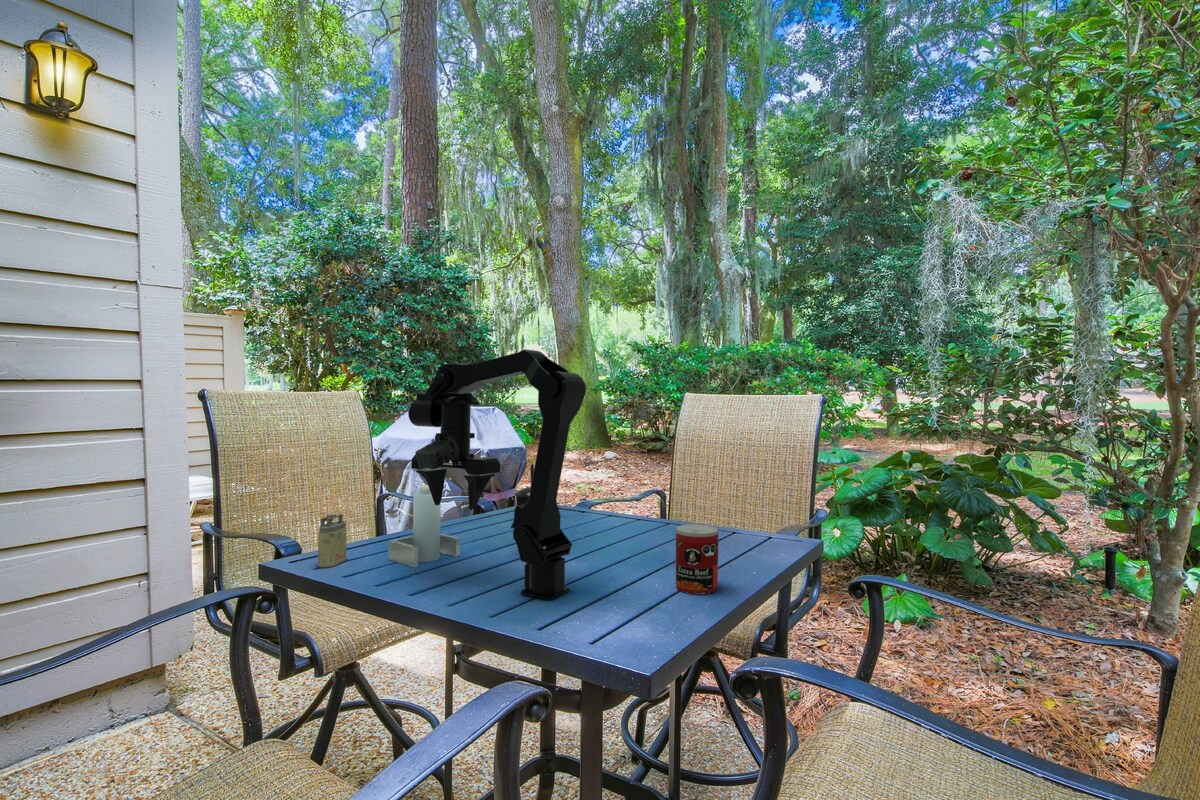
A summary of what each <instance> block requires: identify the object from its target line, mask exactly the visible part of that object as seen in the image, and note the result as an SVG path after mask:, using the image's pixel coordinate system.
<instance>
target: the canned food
mask: <svg viewBox="0 0 1200 800" xmlns="http://www.w3.org/2000/svg"><path fill="white" fill-rule="evenodd" d="M718 571H719V529H718V528H717V527H715V526H713V525H707V524H696V523H695V524H693V523H691V524H682V525H679V526H677V527H676V530H675V586H676V589H677V588H678V589H677V590H678V591H680V590H681V591H680V592H682V591H683V592H682V593H685V592H688V593H687V594H689V593H698V594H700V593H701V595H703V594H702V593H709V592H712V593H714V592H715V590H716V591H717V589H716V588H718V585H719V584H718V582H719V580H718V579H719V575H718V573H719V572H718ZM713 591H714V592H713ZM698 594H697V595H698ZM709 594H710V593H709Z"/></svg>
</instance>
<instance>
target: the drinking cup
mask: <svg viewBox="0 0 1200 800" xmlns="http://www.w3.org/2000/svg"><path fill="white" fill-rule="evenodd" d="M534 467H535V463H534V464H533V463H531V464H530V487H529V486H528V487H524V488H521V489H520V490H518V491H516V492H514V497H515V501H516V502H515V503H516V506H518V505H522V504H525V503H526V502H527V500H528V499H529V496H530V490H531V484H532V479H533V473H534Z"/></svg>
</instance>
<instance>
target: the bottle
mask: <svg viewBox="0 0 1200 800" xmlns="http://www.w3.org/2000/svg"><path fill="white" fill-rule="evenodd" d="M441 504H442V503H440V505H435V504H434V501H433V498H432V495H431V492H430V489H429V486H428V484H423V485H420V486H419V491H417V492H414V493H413V507H412V508H413V511H412V512H413V514H412V515H413V518H412V519H413V520H412V521H413V522H412V527H413V528H412V536H413V546H416V547H418V563H431V561H432V562H435V561H438V560H440V559H441V553H440V533H441V514H442V513H441V512H442V511H441V506H442V505H441ZM439 558H440V559H439Z"/></svg>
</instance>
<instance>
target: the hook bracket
mask: <svg viewBox="0 0 1200 800" xmlns="http://www.w3.org/2000/svg"><path fill="white" fill-rule="evenodd" d="M387 542H388V545H387V547H388V550H387V552H388V553H387V559H388V560H389V561H392V562H395V563H398V564H402V565H404V566H408V567H411V568H415V569H416V568H418V567H419V562H418V547H416V546H413V535H410V536H406V537H405V536H404V537H399V538H396V539H391V540H388V541H387ZM460 542H461V539H460V537H457V536H452V535H449V534H445V533H441V532H440V554H443V555H447V554H448V555H447V556H450V555H452V556H451V557H454V556H455V557H454V558H458V557H457V556H459V557H460V550H461V549H460V546H461V545H460Z"/></svg>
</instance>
